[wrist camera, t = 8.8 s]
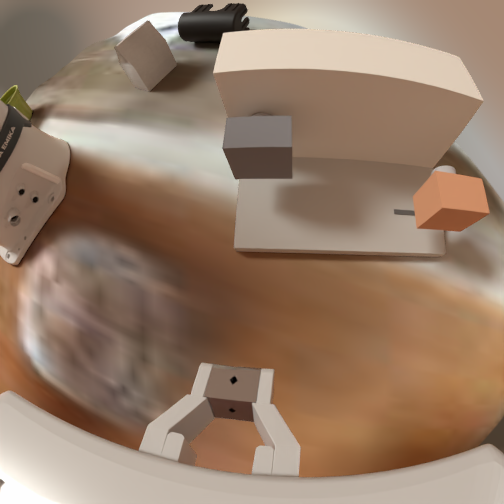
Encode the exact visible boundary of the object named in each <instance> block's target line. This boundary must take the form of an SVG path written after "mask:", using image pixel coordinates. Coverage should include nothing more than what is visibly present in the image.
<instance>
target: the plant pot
mask: <svg viewBox="0 0 504 504" xmlns="http://www.w3.org/2000/svg"><path fill="white" fill-rule="evenodd" d="M0 100H1V101H2V102H3V103H4V104H9V105H11V106H13V107H15V108H16V109H17V110H19V111H20V112H21V113H22V114H23V115H24V116H26V117H27V118H28V119H29V120H30V118H31V116H32V112H33V111H32V110H31V108H30V107H29V106H28V104H27V103H26V102H25V100H24V99H23V97H22V96H21V95H20V92H19V90H18V86H17V85H15V86H13V87H11V88H10V89H9V90H8V91H7V92H6V93H5V94H4V95H3V96H2V98H1V99H0Z"/></svg>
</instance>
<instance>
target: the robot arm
mask: <svg viewBox="0 0 504 504" xmlns="http://www.w3.org/2000/svg"><path fill="white" fill-rule="evenodd" d="M69 160H70V149H69V146H68V144H67V142H66V141H64V140H62V139H58V138H55V137H53V136H51V135H48V134H47V133H45V132H43V131H41V130H39V129H38V128H36V127H34V126H33V125H31V122H30V121H29V119H28V118H27V117H26V116H24V115H23V114H22V113H21V112H20V111H19V110H17V109H16V108H15V107H13V106H11V105H9V104H4V103H3V102H2V101H1V100H0V255H1V257H2V258H3V259H4V260H5V261H6V262H8V263H10V264H12V265H18V264H19V262H20V261H21V259H22V257H23V256H24V254H25V252H26V251H27V249H28V248H29V246H30V245H31V243H32V242H33V240H34V238H35V237H36V235H37V234H38V233H39V231H40V230H41V228H42V227H43V225H44V224H45V222H46V221H47V220H48V218H49V217H50V216H51V214H52V213H53V211H54V210H55V209H56V207H57V206H58V205H59V204H60V202H61V201H62V200H63V198H64V196H65V193H66V182H65V178H66V173H67V169H68V166H69ZM273 393H274V369H262V368H251V367H234V366H225V365H216V364H209V363H201V365H200V366H199V369H198V372H197V376H196V379H195V382H194V385H193V388H192V391H191V395H188V394H187V395H186V396H184V397H183V398H182V399H181V400H180V401H178V402H177V403H176V404H174V405H173V406H172V407H171V408H169V409H168V410H167V411H166V412H164V413H163V414H162V415H160V416H159V417H158V418H157V419H155V420H154V421H153V422H151V423H150V424H149V425H148V426H147V429H146V432H145V434H144V437H143V440H142V443H141V445H140V448H139V451H137V450H134V449H131V448H128V447H125V446H122V445H119V444H116V443H114V442H111V441H108V440H106V439H103V438H101V437H98V436H96V435H94V434H91V433H89V432H87V431H84V430H82V429H80V428H78V427H76V426H74V425H72V424H69V423H67V422H65V421H63V420H61V419H59V418H57V417H56V416H54V415H52V414H50V413H48V412H46V411H44V410H43V409H41V408H39V407H37V406H36V405H34V404H32V403H31V402H29V401H27V400H26V399H24V398H22V397H21V396H19V395H18V394H16V393H15V392H13V391H6V392H4V393H2V394H0V504H504V454H503V453H502V452H501V451H500V450H499V449H497V448H496V447H494V446H493V445H491V444H484V445H481V446H479V447H476V448H473V449H471V450H468V451H465V452H462V453H459V454H456V455H453V456H449V457H446V458H442V459H439V460H435V461H431V462H427V463H423V464H419V465H414V466H410V467H405V468H400V469H394V470H388V471H382V472H375V473H367V474H358V475H347V476H331V477H299V463H300V448H301V447H300V445H299V444H298V442H297V441H296V439H295V437H294V436H293V434H292V433H291V431H290V429H289V428H288V426H287V424H286V423H285V421H284V420H283V418H282V416H281V415H280V413H279V411H278V410H277V408H276V406H275V405H274V404H273ZM214 417H216V418H225V419H235V420H242V421H251V422H254V423H255V425H256V428H257V430H258V432H259V434H260V436H261V438H262V440H263V441H264V443H265V445H266V446H258V447H257V448H256V451H255V457H254V463H253V469H252V475H251V474H242V473H234V472H227V471H220V470H214V469H208V468H203V467H198V466H195V462H196V458H197V455H196V453H195V452H194V450H193V449H192V448H191V446H190V445H189V444H190V443H191V442H192V441H193V440H194V439H195V438H196V437H197V436H198V435H199V434H200V433H201V432H202V431H203V430H204V429H205V428H206V427H207V426H208V425H209V424H210V423H211V422H212V421H213V419H214Z"/></svg>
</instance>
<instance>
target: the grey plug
mask: <svg viewBox="0 0 504 504" xmlns="http://www.w3.org/2000/svg"><path fill="white" fill-rule="evenodd" d="M223 151H224V153H225V156H226V158H227V160H228V163H229V165H230V168H231V170H232V173H233V175H234V177H235V179H292V118H291V116H273V115H271V114H268V113H256V114H254V115H252V116H249V117H230V118H227V120H226V127H225V134H224V141H223Z"/></svg>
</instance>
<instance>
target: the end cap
mask: <svg viewBox="0 0 504 504" xmlns="http://www.w3.org/2000/svg"><path fill="white" fill-rule="evenodd" d="M212 7H213V5H212V4H208V5H199V6H198V7H196V8H195V9H194V10H193V11H192V12H190V13H183V14H182V15H181V17H180V19H179V22H178V32H179V35H180V37H181V38H182V39H183V40H184V41H190V42H221V39H222V36H223V33H228V32H237V31H248V30H250V29H249V28H246V27H247V26H248V24H249V21H250V20H249V18H248V17H246V18H245V19H244V20H243V22H241V19H242V17H243V16H244V15H245V14H246V13H247V8H246V6H245V5H244V4H239V3H238V4H232V3H231V4H228V5H226V6H225V7H224V8H223V9H221V10H217V11H209V10H210V9H211V8H212Z"/></svg>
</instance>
